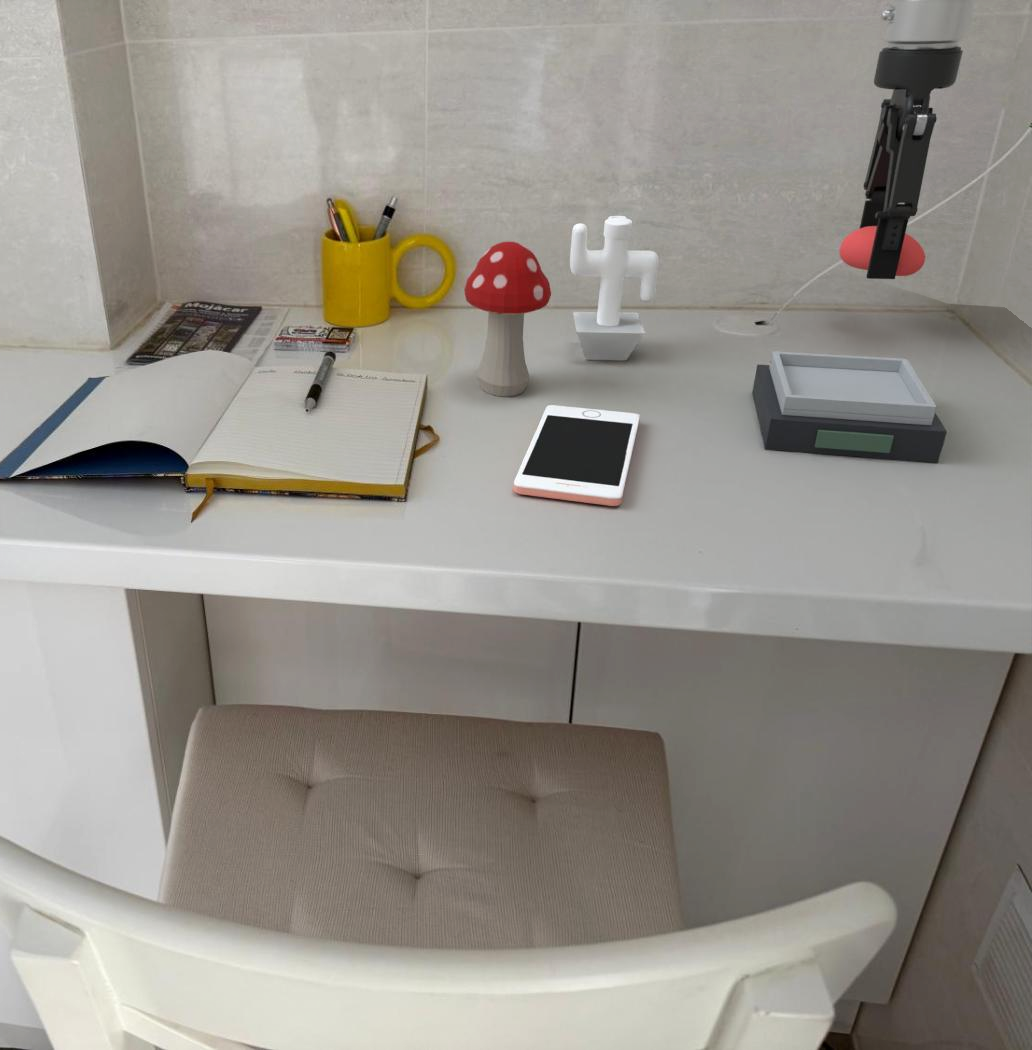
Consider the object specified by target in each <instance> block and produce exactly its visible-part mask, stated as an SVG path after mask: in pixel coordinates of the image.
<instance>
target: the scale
mask: <svg viewBox="0 0 1032 1050" xmlns="http://www.w3.org/2000/svg"><path fill="white" fill-rule="evenodd" d="M751 392H752V397H753V402H754V405H755V406H754V407H755V410H756V415H757V419H758V424H759V428H760V433H761V437H762V442H763V446H764V450H772V451H782V452H795V453H796V452H797V453H798V452H799V453H806V454H807V453H809V454H818V455H819V454H822V455H833V456H843V457H844V456H846V457H858V458H871V459H883V460H896V461H906V462H907V461H910V462H919V463H920V462H922V463H933V464H938V463H939V460H940V456H941V453H942V449H943V447H944V444H945V440H946V436H947V433H948V431H947V429H946V428H945V426H944V424H943V423H942V421H941V419H940V418H939V416H938V415H937V412H936V410H937V405H936V403H935V401H934V400H933V398H932V397H931V395H930V394H929V392H928V390H927V389H926V387H925V385H924V383H923V382H922V381H921V379H920V377H919V376H918V374H917V373H916V371H915V369H914V367H913V366H912V364H911V363H910V361H909V360H908V358H900V357H899V358H898V357H883V356H882V357H881V356H864V355H863V356H862V355H847V354H845V355H843V354H829V353H827V354H826V353H813V352H812V353H808V352H792V351H789V352H788V351H774V350H773V351H772V352H771V356H770V362H769V364H756V369H755V375H754V380H753V385H752V391H751Z"/></svg>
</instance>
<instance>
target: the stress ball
mask: <svg viewBox="0 0 1032 1050" xmlns="http://www.w3.org/2000/svg"><path fill="white" fill-rule="evenodd" d="M876 229H877V226H867V227H863V228H860V227H859V228H858V229H855V230H853V231H852V232H850V233H849V234H848V235H847V236H846V237H845V238H844V239H843V240H842V241H841V243H840V248H839V256H840V259H841V260H842V262H843V263H844V264H846V265H847V266H849V267H852V268H855V269H859V270H863V271H868V267H869V262H870V257H871V253H872V248H873V243H874V239H875V234H876ZM925 262H926V254H925V250H924V248H923V247H922V245H921V244H920V243H919V242H918V241H917V240H916V239H915V237H913V236H911V235H910V234H908V233H907V232H905V237H904V241H903V245H902V250H901V254H900V258H899V263H898V267H897V272H896V276H895V277H909V276H912V275H914V274H916V273H917V272H919V271H920V270H921V269H922V268H923V266H924V265H925Z"/></svg>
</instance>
